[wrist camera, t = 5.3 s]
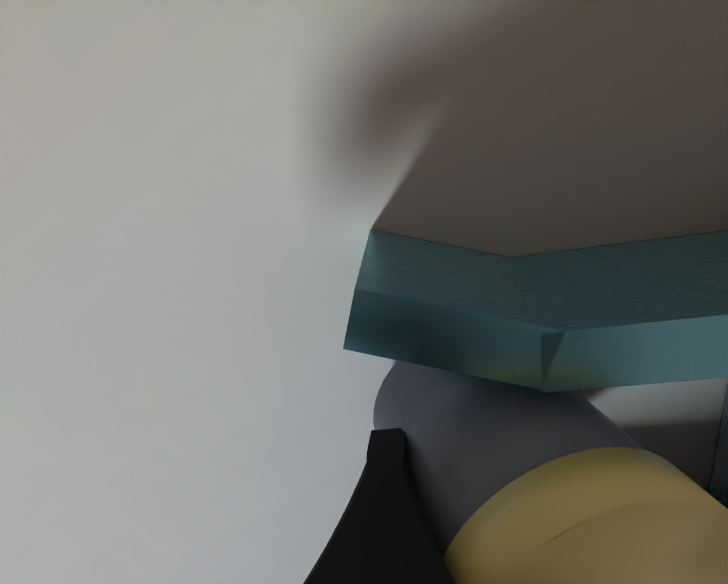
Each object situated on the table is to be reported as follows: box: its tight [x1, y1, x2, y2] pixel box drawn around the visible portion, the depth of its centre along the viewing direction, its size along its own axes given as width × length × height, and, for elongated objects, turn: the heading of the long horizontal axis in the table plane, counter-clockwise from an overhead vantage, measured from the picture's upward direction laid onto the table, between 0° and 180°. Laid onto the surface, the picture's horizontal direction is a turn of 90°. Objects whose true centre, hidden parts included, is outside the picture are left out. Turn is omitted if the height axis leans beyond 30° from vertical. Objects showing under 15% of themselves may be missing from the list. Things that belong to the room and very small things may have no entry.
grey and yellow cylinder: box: [373, 360, 728, 584], centre depth 10 cm, size 5×5×6 cm
